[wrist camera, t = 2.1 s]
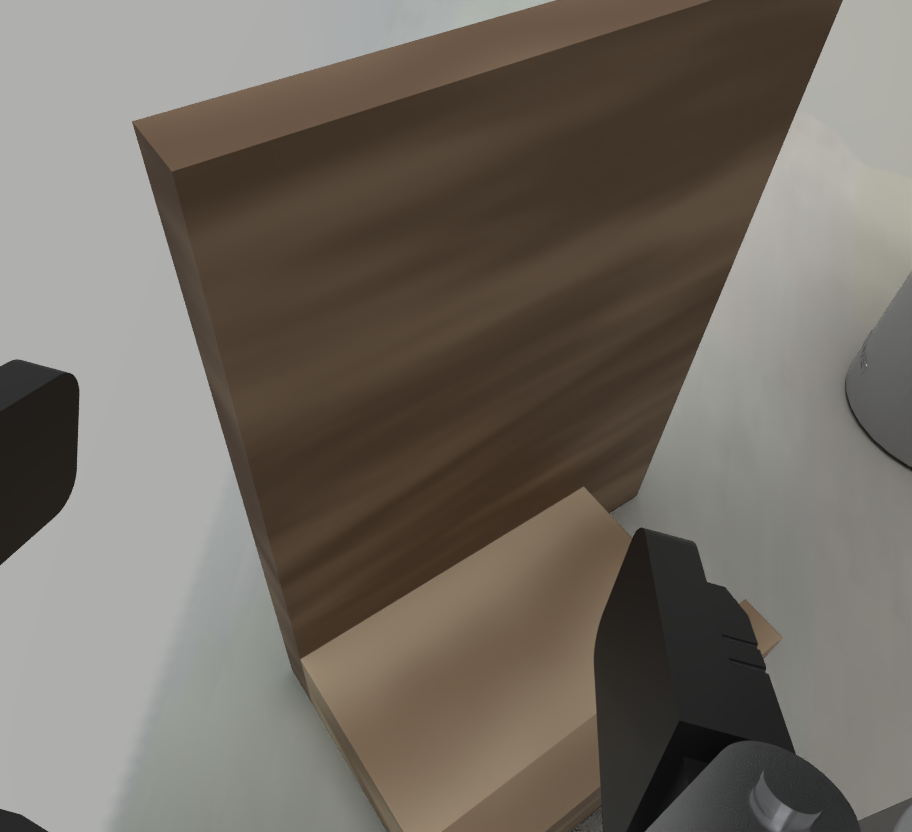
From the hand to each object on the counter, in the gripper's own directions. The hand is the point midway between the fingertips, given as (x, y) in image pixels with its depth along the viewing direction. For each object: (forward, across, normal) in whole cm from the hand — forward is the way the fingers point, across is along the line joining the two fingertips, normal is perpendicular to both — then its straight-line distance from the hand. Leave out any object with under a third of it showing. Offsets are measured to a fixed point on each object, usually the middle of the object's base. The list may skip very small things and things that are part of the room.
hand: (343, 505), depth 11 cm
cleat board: (+15, -7, +14) cm, 21 cm away
